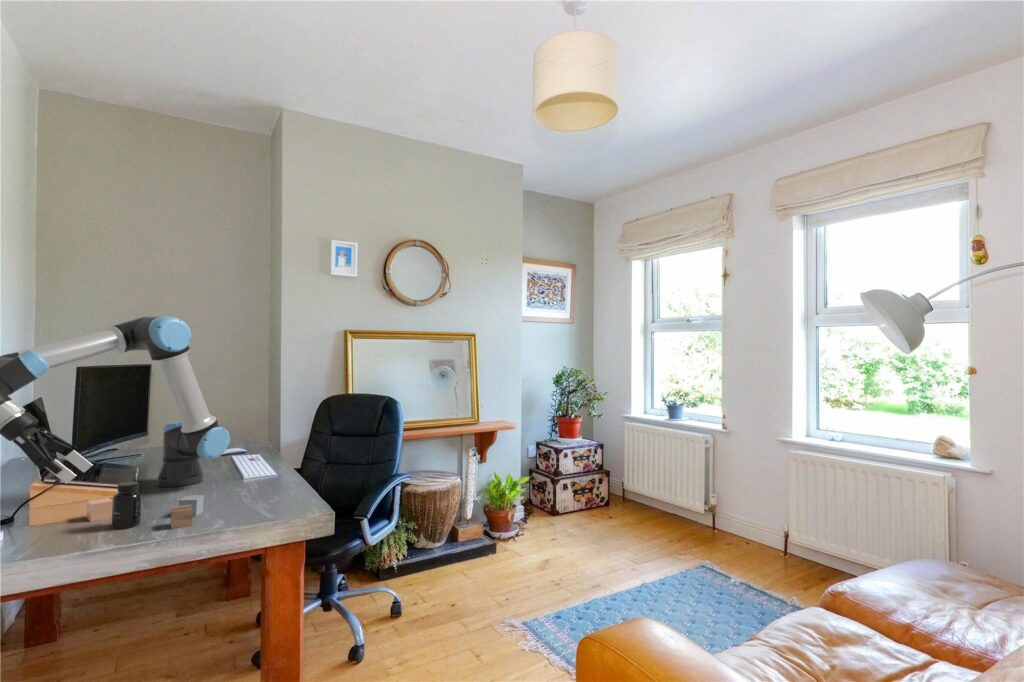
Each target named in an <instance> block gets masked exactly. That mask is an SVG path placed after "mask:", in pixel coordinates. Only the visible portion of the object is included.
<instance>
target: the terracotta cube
mask: <svg viewBox="0 0 1024 682" xmlns="http://www.w3.org/2000/svg"><path fill="white" fill-rule="evenodd" d="M86 503H87V504H86V519H87V520H88V521H89V522H96V521H102V520H107V519H108V520H109V519H112V503H113V499H110V498H109V497H106V498H105V499H104V498H100V499H99V498H98V499H93V500H87V502H86Z"/></svg>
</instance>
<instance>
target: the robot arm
mask: <svg viewBox="0 0 1024 682" xmlns="http://www.w3.org/2000/svg"><path fill="white" fill-rule="evenodd" d="M190 340H192V332H191V329H190V327H189V326H188V324H187V323H186V322H185V321H184V320H183V319H180V318H178V317H175V316H169V315H168V316H167V315H166V316H165V315H163V316H143V317H139V318H135V319H132V320H129V321H128V320H127V321H124V322H121V323H119V324H114V325H110V326H108V327H107V329H106V330H103V331H98V332H94V333H89V334H87V335H86V334H85V335H81V336H78V337H77V336H76V337H73V338H70V339H69V338H68V339H65V340H61V341H56V342H52V343H49V344H48V343H47V344H44V345H40V346H36V347H32V348H27V349H23V350H20V351H15V352H12V353H7V354H2V355H0V436H2V437H4V438H5V439H6V440H7V441H9V442H13V443H14V444H15V445H16V446H18V447H19V448H20V449H21V450H22V451H23V453H24V454H25V456H27V457H28V459H29V460H31V462H32V463H33V464H34V465H35V466H36V467H37V469H39V470H43V469H44V468H45V469H46V470H47V471H48V472H50V473H52V474H53V476H55V477H56V478H58V479H59V480H61V481H62V482H63V483H65V484H68V483H70V482H71V481H72V480H73V479H75V478H76V477H77V476H78V475H77V474H75V473H74V472H73V470H71V469H69V468H68V467H66V465H64V464H63V463H62V462H60V461H59V460H57V458H55V459H53V457H52V456H51V454H50V452H49V451H48V450H50V451H53V452H55V453H57V454H59V455H62V456H64V459H65V460H66V461H68V462H70V464H72V465H73V466H75V468H77V469H78V470H80V471H81V472H82V473H86V471H89V469H90V468H91V467H93V466H94V464H93V463H91V462H90V461H88V459H86V458H85V457H84V456H82V455H81V454H80V453H79V452H77V451H76V449H77V446H76V445H73V444H71V443H70V442H68V441H66V440H65V439H63V438H61V437H59V436H57V435H55V434H54V433H52V432H50V431H49V430H48V429H46V427H43V426H41V427H40V428H36V426H37V424H38V423H39V419H38V418H36V417H35V415H33V414H32V413H31V412H27V411H26V409H25V408H24V407H23V406H21V405H20V404H19V403H18V402H16V401H15V400H13V399H12V398H11V397H10V396H11V395H12V394H14V393H15V392H18V391H19V390H21V389H22V388H24V387H25V386H27V385H29V384H31V383H32V382H34V381H36V380H37V379H40V378H41V377H42V376H44V375H45V374H46V373H48V372H49V371H50V370H53V369H57V368H61V367H64V366H68V365H71V364H75V363H78V362H83V361H86V360H89V359H94V358H98V357H101V356H105V355H109V354H112V353H117V354H124V353H127V352H131V351H147V352H148V354H149V356H150V359H151V361H152V362H155V363H157V364H159V367H160V370H161V372H162V374H163V376H164V380H165V381H166V384H167V386H168V389H169V391H170V394H171V397H172V398H173V399H172V400H173V401H174V404H175V406H176V408H177V411H178V414H179V416H180V418H181V421H174V422H168V423H166V424H165V425H164V427H163V433H162V435H163V443H162V445H163V447H162V448H163V449H162V451H163V452H162V464H161V467H160V468H159V469H160V470H159V471H158V474H157V476H156V484H155V485H156V486H158V487H162V488H163V487H164V488H166V487H167V488H169V487H170V488H174V487H175V488H176V487H183V486H185V487H186V486H190V485H195V484H200V483H202V482H203V481H204V479H205V473H204V470H203V468H202V464H201V461H200V459H203V460H214V459H216V458H219V457H221V456H222V455H223V454H224V453H225V452H226V451H227V449H228V447H229V445H230V442H231V437H230V433H229V431H228V430H227V429H226V428H224V427H222V426H220V424H219V421H218V419H217V417H216V416H214V415H211V414H210V411H209V409H208V407H207V403H206V401H205V399H204V396H203V393H202V390H201V388H200V386H199V383H198V380H197V378H196V375H195V373H194V370H193V367H192V364H191V362H190V360H189V356H188V354H189V352H190V351H191V348H190V346H189V345H190V342H191V341H190Z"/></svg>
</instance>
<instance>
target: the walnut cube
mask: <svg viewBox="0 0 1024 682" xmlns="http://www.w3.org/2000/svg"><path fill="white" fill-rule="evenodd" d="M192 511H193V509H192V505H185V506H179V505H178V506H171V507H170V530H176V529H177V530H178V529H182V528H183V527H184V528H190V527H189V526H191V527H193V516H192ZM184 528H183V529H184Z"/></svg>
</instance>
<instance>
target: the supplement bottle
mask: <svg viewBox="0 0 1024 682" xmlns="http://www.w3.org/2000/svg"><path fill="white" fill-rule="evenodd" d="M139 484H140V483H139V482H138V481H124V482H121V483H118V484H117V493H116V494H114V495H113V497H112V501H113V502H112V518H111V526H110V527H111V528H112V529H115V530H125V529H131V528H135V527H137V526H139V525H140V524H141V523H142V509H143V507H142V506H143V494H142V492H141V491H140V490H139V489H140V487H139Z"/></svg>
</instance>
